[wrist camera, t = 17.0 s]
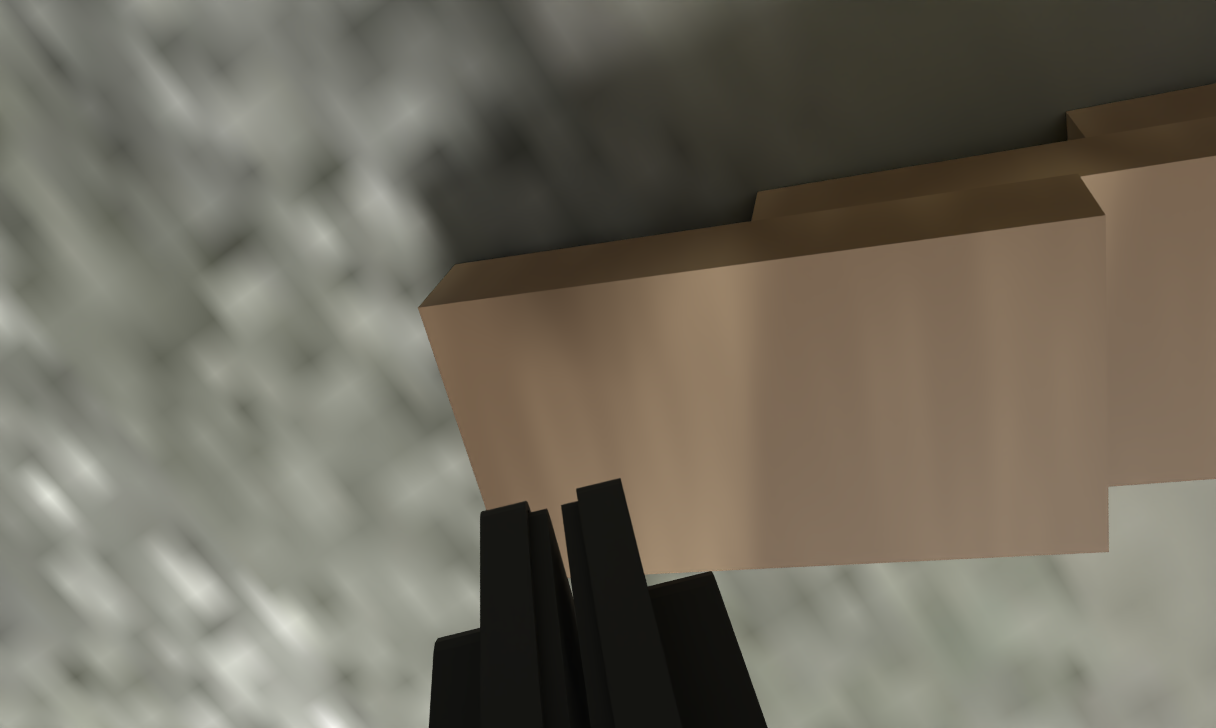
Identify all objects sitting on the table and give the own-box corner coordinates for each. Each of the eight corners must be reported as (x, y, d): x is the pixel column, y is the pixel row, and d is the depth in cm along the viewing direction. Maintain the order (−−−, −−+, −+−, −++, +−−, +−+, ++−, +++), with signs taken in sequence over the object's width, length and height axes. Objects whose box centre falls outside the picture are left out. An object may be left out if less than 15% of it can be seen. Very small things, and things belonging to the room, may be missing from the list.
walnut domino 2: (757, 191, 16) (1433, 80, 13) (804, 455, 18) (1394, 404, 15) (749, 227, 14) (1502, 111, 12) (801, 508, 17) (1447, 461, 14)
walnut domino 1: (455, 264, 16) (1077, 173, 13) (535, 521, 18) (1084, 485, 15) (417, 307, 14) (1105, 214, 12) (510, 580, 16) (1108, 551, 14)
